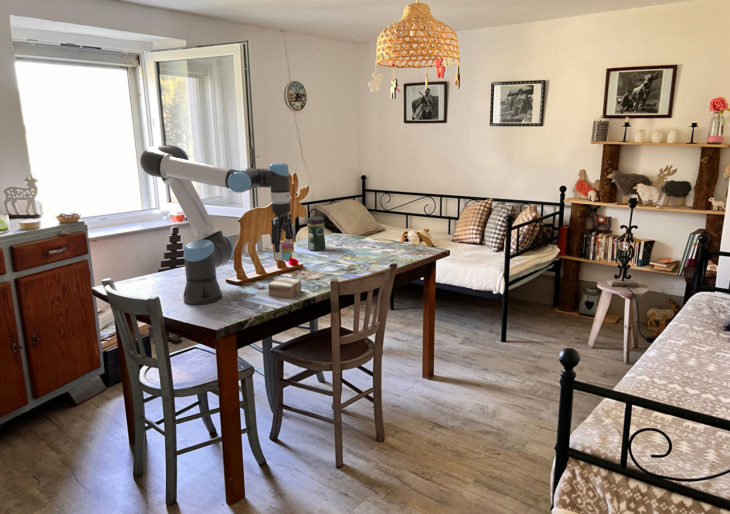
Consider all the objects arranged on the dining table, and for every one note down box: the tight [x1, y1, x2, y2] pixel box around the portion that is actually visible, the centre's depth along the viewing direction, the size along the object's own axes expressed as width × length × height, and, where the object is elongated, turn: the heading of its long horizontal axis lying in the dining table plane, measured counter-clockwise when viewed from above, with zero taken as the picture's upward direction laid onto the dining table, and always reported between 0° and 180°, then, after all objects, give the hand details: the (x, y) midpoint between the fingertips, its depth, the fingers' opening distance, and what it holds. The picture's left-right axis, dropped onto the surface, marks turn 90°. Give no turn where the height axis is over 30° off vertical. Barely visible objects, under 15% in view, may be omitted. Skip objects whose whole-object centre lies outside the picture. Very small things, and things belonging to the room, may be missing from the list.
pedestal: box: [267, 277, 302, 299], centre depth 227 cm, size 10×10×5 cm
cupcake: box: [272, 231, 294, 261], centre depth 222 cm, size 9×8×12 cm
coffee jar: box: [306, 216, 327, 252], centre depth 303 cm, size 10×8×19 cm
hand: (283, 257), depth 224 cm, fingers closed on cupcake, 8 cm apart
